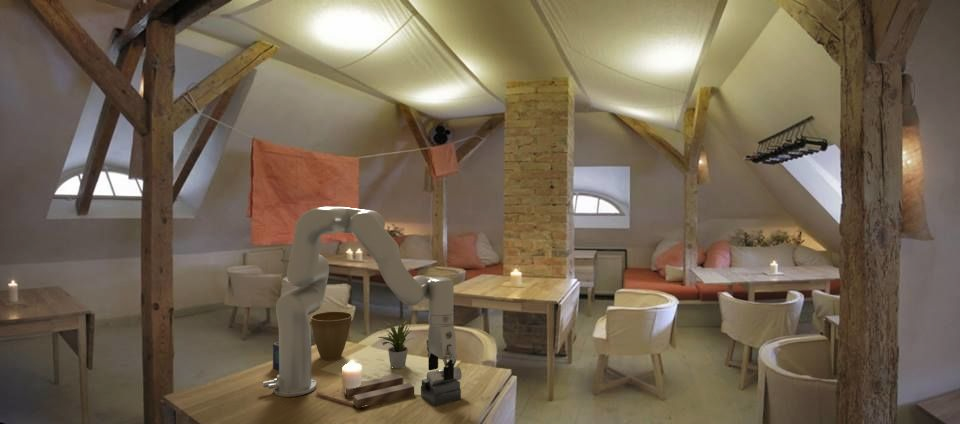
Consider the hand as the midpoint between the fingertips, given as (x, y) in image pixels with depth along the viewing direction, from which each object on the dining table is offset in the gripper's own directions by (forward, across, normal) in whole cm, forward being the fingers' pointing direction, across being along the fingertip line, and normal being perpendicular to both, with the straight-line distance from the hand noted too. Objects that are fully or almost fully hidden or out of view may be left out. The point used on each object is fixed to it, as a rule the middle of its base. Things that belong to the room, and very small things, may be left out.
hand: (440, 374), depth 141 cm
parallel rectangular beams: (+7, +12, +15) cm, 20 cm away
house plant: (+7, +33, 0) cm, 34 cm away
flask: (+7, +50, +36) cm, 62 cm away
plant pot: (+7, +54, +18) cm, 57 cm away
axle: (+2, -1, -1) cm, 3 cm away
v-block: (+7, 0, 0) cm, 7 cm away
